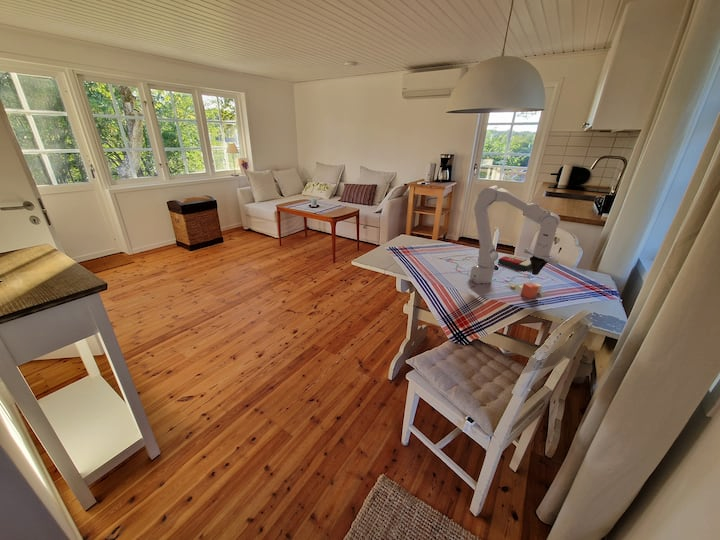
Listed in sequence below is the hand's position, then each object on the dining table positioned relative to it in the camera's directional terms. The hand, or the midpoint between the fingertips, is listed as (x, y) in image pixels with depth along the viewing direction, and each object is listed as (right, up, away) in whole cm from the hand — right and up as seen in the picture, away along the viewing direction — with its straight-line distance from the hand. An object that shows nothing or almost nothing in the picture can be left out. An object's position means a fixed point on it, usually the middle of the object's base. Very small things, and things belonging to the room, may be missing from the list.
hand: (534, 274), depth 123 cm
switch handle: (+2, -8, +4) cm, 9 cm away
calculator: (+11, +4, +35) cm, 37 cm away
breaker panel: (0, -9, +6) cm, 11 cm away
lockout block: (-2, -9, +1) cm, 9 cm away
